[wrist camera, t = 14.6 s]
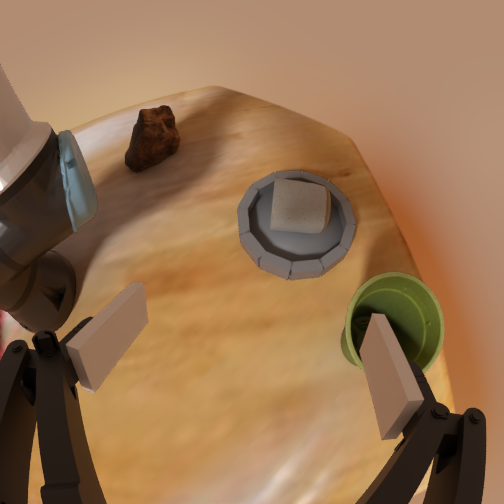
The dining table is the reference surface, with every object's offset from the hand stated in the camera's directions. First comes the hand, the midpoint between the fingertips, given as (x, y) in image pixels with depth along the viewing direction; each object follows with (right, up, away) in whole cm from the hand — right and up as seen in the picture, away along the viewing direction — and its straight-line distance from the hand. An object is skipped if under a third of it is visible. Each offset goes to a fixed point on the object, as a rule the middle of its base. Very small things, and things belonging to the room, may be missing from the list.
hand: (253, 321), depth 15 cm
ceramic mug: (+6, +10, +27) cm, 30 cm away
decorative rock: (-19, +22, +35) cm, 46 cm away
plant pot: (+15, -8, +20) cm, 26 cm away
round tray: (+6, +8, +27) cm, 29 cm away
